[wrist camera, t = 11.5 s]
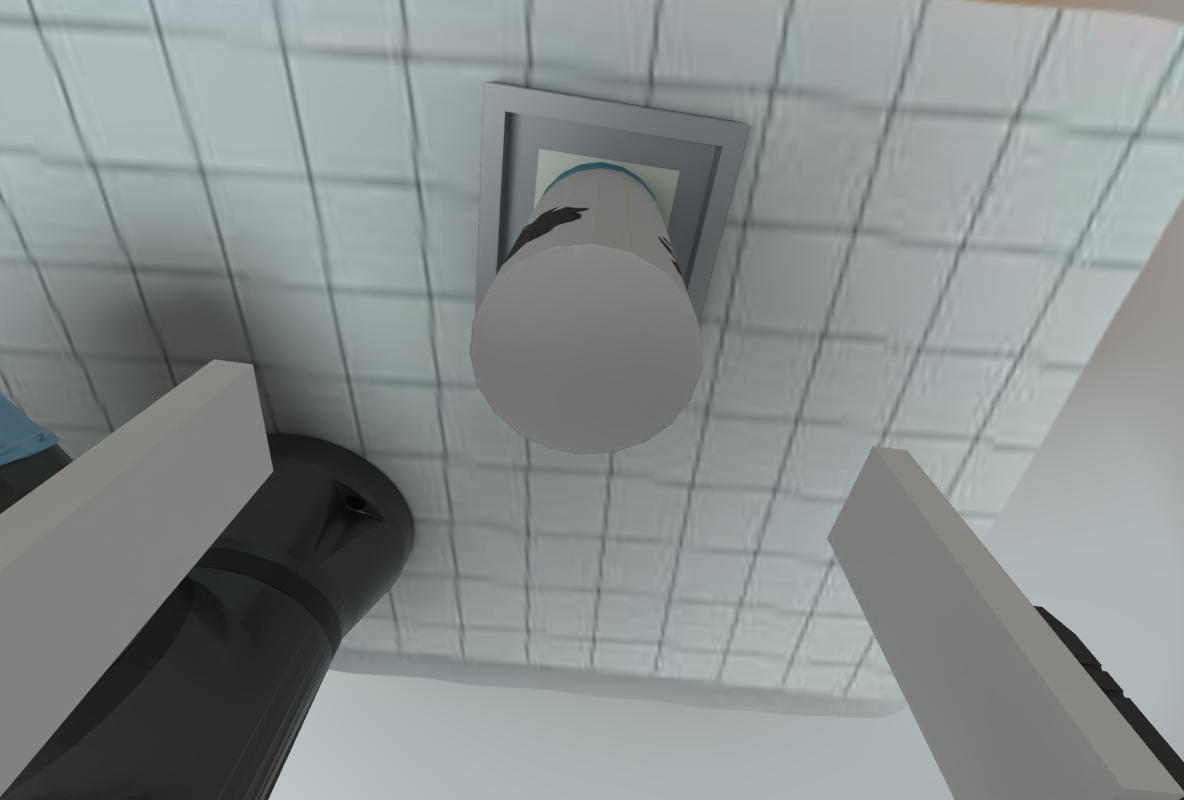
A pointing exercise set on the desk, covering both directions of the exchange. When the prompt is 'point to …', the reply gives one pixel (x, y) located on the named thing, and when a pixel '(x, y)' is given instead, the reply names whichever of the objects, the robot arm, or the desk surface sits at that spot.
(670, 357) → the cup
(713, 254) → the tray
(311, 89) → the desk surface
